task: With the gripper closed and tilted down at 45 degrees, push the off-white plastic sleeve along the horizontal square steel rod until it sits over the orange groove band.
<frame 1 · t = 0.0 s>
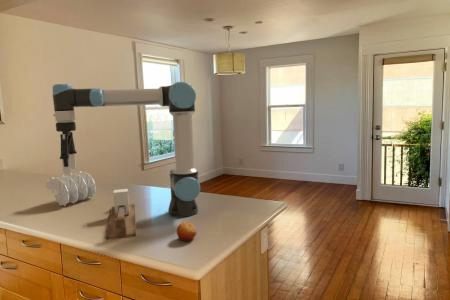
hand: (70, 171, 145), 28 cm above the worktop, tool pointing down, fingers open, 13 cm apart
steel rod: (122, 221, 164), resting on walnut board
fruit: (186, 239, 139), on the worktop
sleeve: (121, 202, 170), point 8 cm above the worktop, slide at 0.0 cm
spiral staircase: (75, 202, 202), on the worktop
walnut board: (122, 220, 165), on the worktop
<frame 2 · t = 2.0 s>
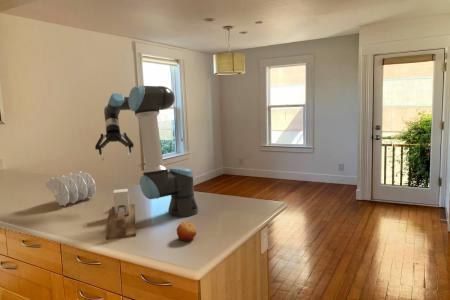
hand: (116, 158, 184), 27 cm above the worktop, tool tilted 45°, fingers open, 13 cm apart
nothing on the worktop moved.
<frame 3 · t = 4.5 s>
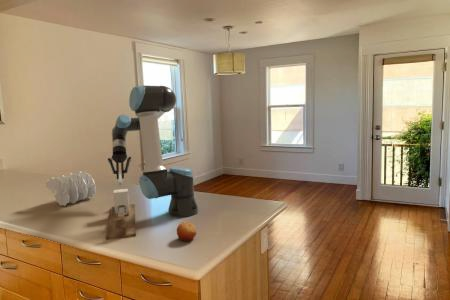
hand: (120, 183, 183), 14 cm above the worktop, tool tilted 45°, fingers closed
nothing on the worktop moved.
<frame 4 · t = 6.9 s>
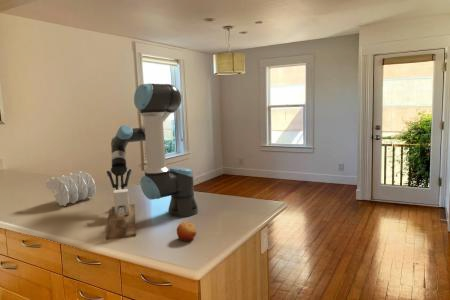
hand: (120, 198, 173), 9 cm above the worktop, tool tilted 45°, fingers closed
sleeve: (121, 202, 169), point 8 cm above the worktop, slide at 0.3 cm, touching gripper
everything else where it was.
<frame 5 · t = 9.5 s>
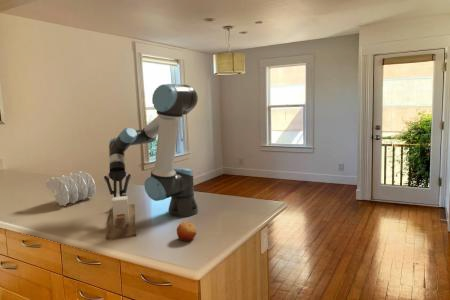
hand: (118, 205, 159), 9 cm above the worktop, tool tilted 45°, fingers closed
sleeve: (120, 210, 155), point 8 cm above the worktop, slide at 14.8 cm, touching gripper
everything else where it was.
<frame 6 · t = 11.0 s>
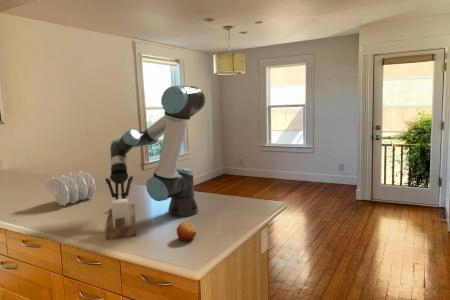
hand: (120, 209, 155), 9 cm above the worktop, tool tilted 45°, fingers closed
sleeve: (120, 213, 151), point 8 cm above the worktop, slide at 19.6 cm, touching gripper
everything else where it was.
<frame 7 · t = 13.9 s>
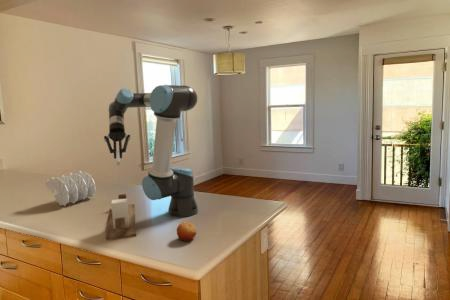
hand: (118, 163, 163), 28 cm above the worktop, tool tilted 45°, fingers closed
sleeve: (120, 213, 151), point 8 cm above the worktop, slide at 19.7 cm
everything else where it was.
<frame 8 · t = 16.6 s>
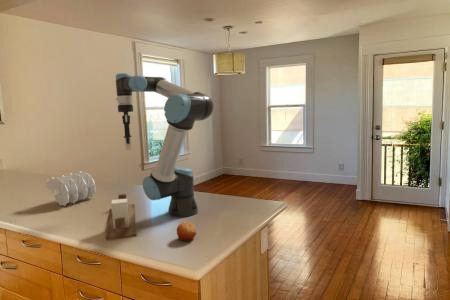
hand: (128, 149, 178), 32 cm above the worktop, tool pointing down, fingers closed
nothing on the worktop moved.
at the end: sleeve slide at 19.7 cm; sleeve 0.3 cm from the target spot, resting on walnut board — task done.
